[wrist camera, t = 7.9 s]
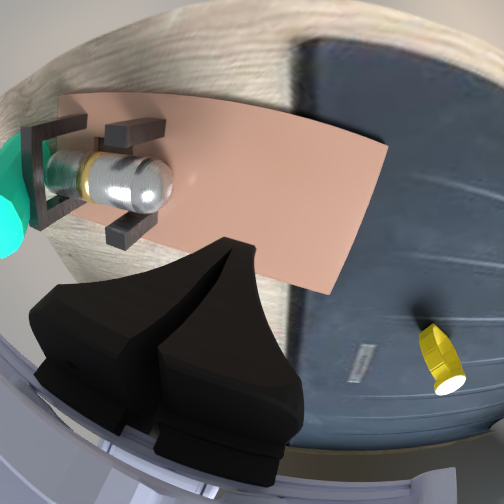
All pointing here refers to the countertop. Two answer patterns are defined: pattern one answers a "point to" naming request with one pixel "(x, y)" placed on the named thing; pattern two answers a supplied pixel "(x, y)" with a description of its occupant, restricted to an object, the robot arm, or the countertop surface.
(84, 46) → the countertop surface
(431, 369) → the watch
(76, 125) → the black upright posts
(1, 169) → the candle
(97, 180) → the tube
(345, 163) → the plate
